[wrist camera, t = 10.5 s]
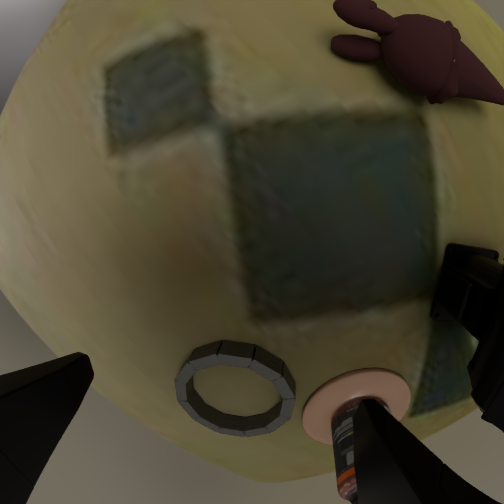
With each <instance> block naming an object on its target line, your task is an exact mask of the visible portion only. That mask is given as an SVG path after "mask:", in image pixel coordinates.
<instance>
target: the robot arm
mask: <svg viewBox="0 0 504 504" xmlns="http://www.w3.org/2000/svg"><path fill="white" fill-rule="evenodd" d="M452 248H453V251H452V252H451V249H452ZM494 255H495V256H494ZM498 258H499V253H498V252H497V251H495V250H491V249H485V248H480V247H474V246H468V245H462V244H455V243H450V244H449V245H448V246H447V249H446V254H445V259H444V263H443V268H442V270H441V275H440V279H439V283H438V287H437V290H436V294H435V299H434V303H433V306H432V309H431V313H430V316H431V318H432V319H433V320H456V321H458V322H459V323H460V324H461V325H462V326H463V327H464V328H465V329H466V330H467V331H468V332H469V333H470V334H471V335H472V336H474V337H475V338H476V339H477V340H478V341H479V344H478V346H477V349H476V351H475V353H474V356H473V358H472V360H470V362H469V364H468V366H467V369H468V372H469V376H470V379H471V385H472V391H471V396H472V398H473V400H474V401H475V403H476V404H477V406H478V407H479V409H480V410H481V411H482V412H483V415H482V416H481V418H482V419H483V420H485V421H487V422H489V423H492V424H493V425H495V426H496V427H498V428H499V429H501V430H502V431H503V432H504V265H503V264H501V263H499V262H498ZM503 260H504V259H503ZM435 313H437V314H436V315H435ZM93 378H94V372H93V368H92V365H91V362H90V359H89V357H88V355H86V354H83V353H81V352H76V353H73V354H70V355H67V356H64V357H60V358H57V359H54V360H51V361H48V362H45V363H42V364H38V365H35V366H31V367H28V368H24V369H21V370H18V371H14V372H11V373H8V374H4V375H0V504H26V503H27V501H28V499H29V497H30V495H31V493H32V491H33V489H34V486H35V484H36V482H37V480H38V479H39V477H40V475H41V473H42V471H43V469H44V467H45V465H46V463H47V462H48V460H49V458H50V456H51V455H52V453H53V451H54V449H55V448H56V446H57V444H58V442H59V440H60V439H61V437H62V435H63V434H64V432H65V430H66V429H67V427H68V425H69V424H70V422H71V420H72V419H73V417H74V415H75V414H76V412H77V411H78V409H79V407H80V405H81V403H82V400H83V398H84V396H85V394H86V392H87V390H88V388H89V386H90V384H91V382H92V380H93ZM353 452H354V470H355V477H356V485H357V494H358V503H359V504H502V503H499V502H497V501H495V500H494V499H492V498H490V497H489V496H487V495H486V494H484V493H483V492H481V491H479V490H478V489H477V488H475V487H473V486H472V485H471V484H469V483H468V482H466V481H465V480H464V479H462V478H461V477H460V476H459V475H457V474H456V473H455V472H454V471H453V470H451V469H450V468H449V467H448V466H447V465H446V464H443V462H442V461H441V460H440V459H439V458H438V457H437V456H436V455H434V453H433V452H431V451H430V450H429V449H428V448H427V447H426V446H425V445H424V444H423V443H422V442H421V441H419V440H418V439H417V438H416V437H415V436H414V435H413V434H412V433H411V432H410V431H409V430H408V429H406V428H405V427H404V426H403V425H402V424H401V423H400V422H399V421H398V420H397V419H396V418H395V417H394V416H393V415H392V414H390V413H389V412H388V411H387V410H386V409H385V408H384V407H383V406H382V405H381V404H380V403H379V402H378V401H377V400H376V399H373V398H370V399H362V400H361V401H360V403H359V405H358V408H357V410H356V412H355V415H354V417H353Z"/></svg>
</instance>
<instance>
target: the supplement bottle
mask: <svg viewBox="0 0 504 504" xmlns="http://www.w3.org/2000/svg"><path fill="white" fill-rule="evenodd" d="M370 398H373V399H376V400H377V401H378V402H379V403H380V404H381V405H382V406H383V407H384V408H385V409H386V410H387V411H388V412H389V413H390V414H391V411H390V409H389V407H388V405H387V403H386V402H384V401H383V400H381V399H379V398H375V397H367V398H360V399H356V400H354V401H351V402H349V403H347V404H345V405H344V406H342V407H341V408H340V409H339V410H338V411H336V413H335V414H334V415H333V417H332V420H331V431H332V441H333V449H334V458H335V468H336V477H337V488H338V493H339V495H340V497H341V498H343V499H344V500H347V501H350V502H351V503H352V504H359V503H358V494H357V485H356V477H355V470H354V452H353V417H354V415H355V412H356V410H357V408H358V405H359V403H360V401H361V400H362V399H370Z"/></svg>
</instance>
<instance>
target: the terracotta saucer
mask: <svg viewBox="0 0 504 504" xmlns="http://www.w3.org/2000/svg"><path fill="white" fill-rule="evenodd" d="M367 397H375V398H379V399H381V400H383V401H384V402H386V403H387V405H388V407H389V409H390V411H391V414H392V415H393V416H394V417H395V418H396V419H397V420H398V421H400V420H401V419H402V417H403V416H404V415H405V413H406V411H407V409H408V407H409V404H410V400H411V393H410V389H409V387H408V385H407V383H406V381H405V380H404V378H403V377H402V376H400V375H399V374H398V373H396V372H394V371H391V370H388V369H382V368H366V369H360V370H355V371H351V372H348V373H345V374H342V375H340V376H338V377H335V378H333V379H332V380H330V381H328V382H326V383H325V384H323V385H322V386H321V387H319V388H318V389H317V390H316V391H315V392H314V393H313V394H312V395H311V396H310V397H309V399H308V400H307V402H306V403H305V406H304V408H303V427H304V429H305V431H306V432H307V434H308V435H309V436H310V437H311V438H313V439H314V440H316V441H318V442H321V443H324V444H328V445H333V441H332V431H331V420H332V417H333V415H334V414H335V413H336V411H338V410H339V409H340V408H341V407H342V406H344V405H345V404H347V403H349V402H351V401H354V400H356V399H360V398H367Z"/></svg>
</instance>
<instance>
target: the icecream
mask: <svg viewBox="0 0 504 504" xmlns="http://www.w3.org/2000/svg"><path fill="white" fill-rule="evenodd" d="M333 9H334V10H335V12H336V14H337V15H338V17H340V18H341V19H342V20H343V21H345V22H346V23H347V24H350V25H352V26H354V27H357V28H361V29H367V30H370V31H373V32H376V33H377V34H378V35H379V37H381V43H380V42H378V41H376V40H374V39H371V38H367V37H363V36H359V35H337V36H335V37H333V38H332V40H331V47H332V50H334V51H335V52H336V53H337V54H339V55H341V56H344V57H347V58H350V59H353V60H365V61H377V60H384V61H385V63H386V65H387V66H388V67H389V69H390V70H391V71H392V73H393V74H394V75H395V77H396V78H397V79H398V80H399V81H400V82H402V83H403V84H404V85H405V86H406V87H407V88H408V89H410V90H412V91H414V92H416V93H417V94H419V95H421V96H427V99H428V101H429V103H430V104H434V103H439V104H442V103H443V102H445V101H446V98H451V97H453V96H455V97H462V98H469V99H475V100H481V101H486V102H491V103H495V104H500V105H504V89H503V87H502V86H501V85H500V83H499V82H498V81H497V80H496V78H495V77H494V76H493V75H492V74H491V72H490V71H489V70H488V69H487V68H486V67H485V65H484V64H483V63H482V62H481V61H480V60H479V59H478V58H477V57H476V56H475V55H474V54H473V52H472V51H471V50H470V49H469V48H468V47H467V46H466V45H465V44H464V43H463V42H462V41H461V40H460V39H461V36H460V34H459V31H458V29H456V28H455V27H453V25H452V23H451V22H450V21H446V22H445V23H444V22H443V21H441V20H438V19H435V18H432V17H429V16H426V15H420V14H405V15H401V16H398V17H395V18H393V17H392V16H390V15H389V14H388V13H386V12H385V11H383V10H381V9H379V8H377V4H376V3H375V2H374V1H372V0H336V1H335V2H334V3H333Z"/></svg>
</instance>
